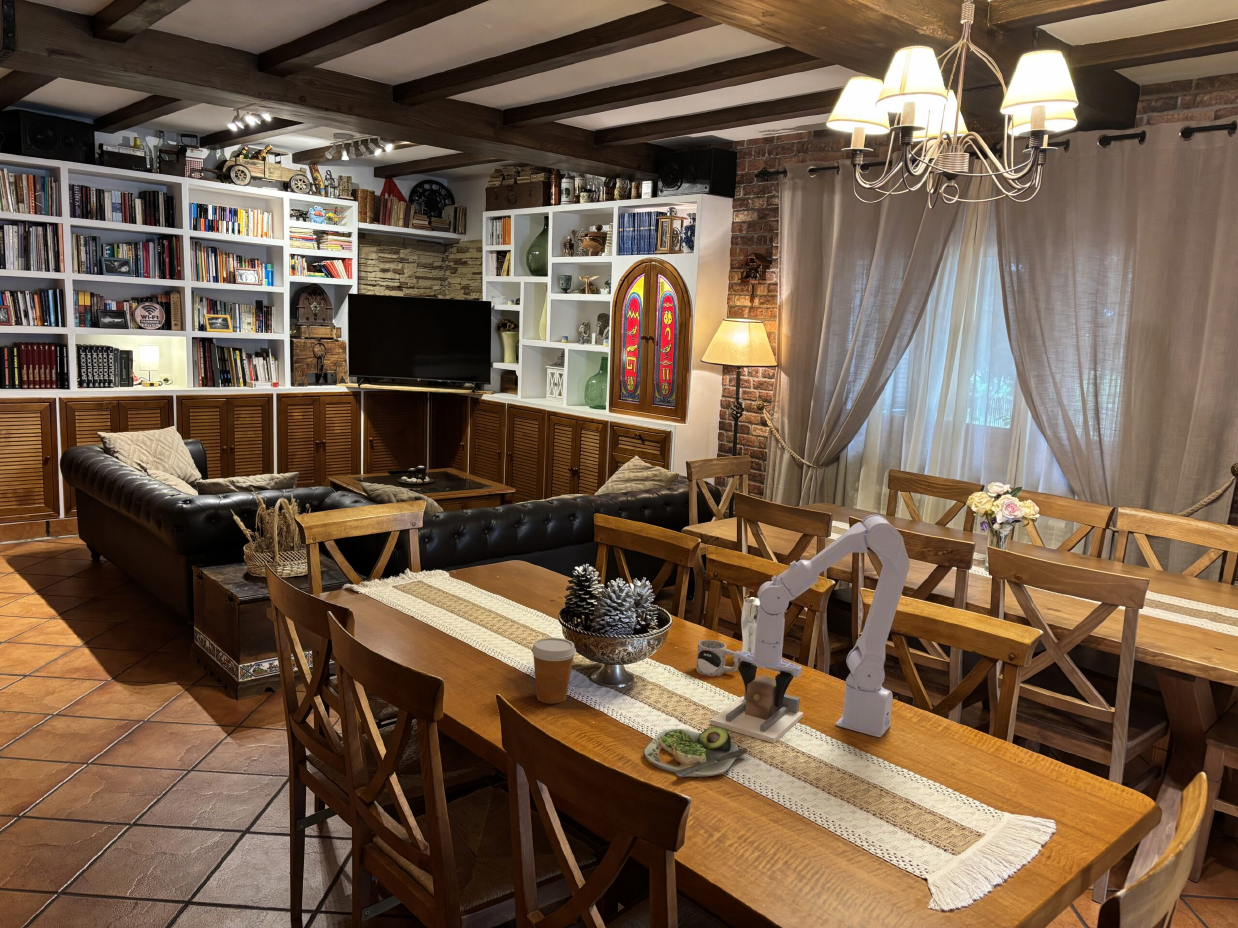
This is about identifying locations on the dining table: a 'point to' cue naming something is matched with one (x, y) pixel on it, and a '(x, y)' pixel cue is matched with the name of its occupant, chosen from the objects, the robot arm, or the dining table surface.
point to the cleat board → (758, 727)
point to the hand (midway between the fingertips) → (764, 701)
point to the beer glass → (749, 623)
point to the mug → (713, 658)
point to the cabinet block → (761, 698)
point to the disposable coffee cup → (552, 668)
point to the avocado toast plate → (695, 751)
